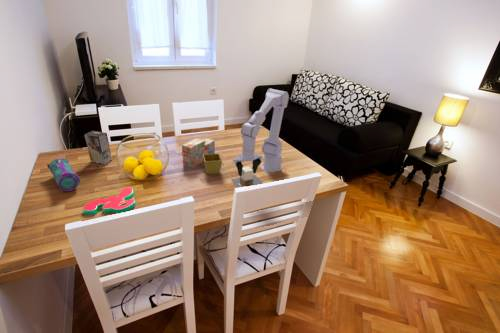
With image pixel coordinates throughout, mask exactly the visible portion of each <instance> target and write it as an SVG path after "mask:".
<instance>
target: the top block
mask: <svg viewBox="0 0 500 333" xmlns="http://www.w3.org/2000/svg"><path fill="white" fill-rule="evenodd" d="M253 175H254V173H253V170H252V168H251V167H250V166H249V165H248V166H243V168H242V176H239V178H240V177H241V178H242V179H243V180H244V181H246V180H251V179H252V178H253Z"/></svg>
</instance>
